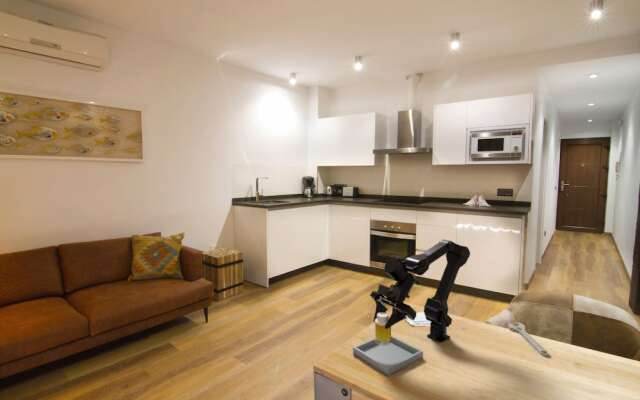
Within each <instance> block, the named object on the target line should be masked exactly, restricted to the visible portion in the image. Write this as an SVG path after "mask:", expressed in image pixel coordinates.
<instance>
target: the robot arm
mask: <svg viewBox="0 0 640 400" xmlns="http://www.w3.org/2000/svg"><path fill="white" fill-rule="evenodd" d="M443 256H445V258H446V259H445V260H446V265H445V268H444V270H443V273H442V275H441V278H440V281H439V283H438V286H437V288H436V291H435V293H434V296H433V297H428V298H427V299H426V302H425V304H424V306H423V307H424V309H423V314H424V316H425V317H424V318H425V319H426V321H429V322H430V323H429V324H430V325H429V326H430V327H429V333H428V334H426V336H427V337H428V338H429V339H433V340H435V341H437V342H439V343H442V342H444V341H447V340H449V339H450V338H451V336H450V335H449V334H447V329H448V328H449V327H450V325H452V321H453V319H452V317H451V316H450V315H449V314H448V312H449V306H448V299H449V297H450V294H451V291H452V290H453V286H454V284H455V281H456V278H457V276H458V273H459V271H460V268H462V267H463V266H464V265H466V264H467V262H468V260H469V258H470V256H471V251H470V249H469V247H468V246H465V245H460V244H457V243H455V242H454V241H452V240H447V239H440V240H439V241H438V243H436V244H435V245H433V246H431V247H430V248H428V249H427V250H425V251H424V252H422V253H420V254H414V255H411V256H409V257H407V258H406V259H405V260H402V259H401V258H400V257H397V256H395V257H394V258H393V259H390V260H388V261H387V262H386V263H385V265H384V271H385V272H386V274H387V275H389V277H390V278H392V279H393V281H395V283H394V284H390V286H388V285H384V284H380V283H379V285H378V288H377V290H372V291H371V293H370V294H369V297H370V298H371V299H373V301H374V302H375V312H374V317H373V320H372V321H373V323H375V319H376V318H377V314H378V313H380V312H384V313H387V311H388V307H386V306H390V307H392V308H391V309H392V310H391V314H390V316H389V319H388V321H387V323H386V325H385V328H386V329H388V328H390V327H391V328H392V327H393V326H394V325H396V324H398V323H400V322H401V321H403V320H407V319H411V320H412V321H414V320H415V319H416V317H417V311H416V310H415V309H414V308H413V307H412V306H411V305H410V304H408V303H405V300H406V299H409V298H410V295H409V294H410V291H411V290H412V288H413V287H414V285H417V286H418V285H420V281H419V278H418V276H423V275H424V274H425V273H426V272H427V271H429V269H430V265H431V264H432V263H434V262H435V261H438V260H439V259H440V258H442V257H443ZM415 275H417V276H415Z"/></svg>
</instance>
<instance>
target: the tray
mask: <svg viewBox="0 0 640 400" xmlns="http://www.w3.org/2000/svg"><path fill="white" fill-rule="evenodd" d="M352 354H353V355H355V356H356V357H357V358H359V359H361V360H362V361H363V362H365V363H367V364H369V365H370V366H372V367H373V368H375V369H376V370H379V372H381V373H383V374H385V375H386V376H388V377H389V376H391V375H394V374H395V373H397V372H399V371H400V370H402V369H404V368H408V367H409V366H410V365H412V364H414V363H416V362H418V361H420V360H422V359H423V358H424V351H423V350H421V349H419V348H418V347H415V346H414V345H411V344H409V343H407V342H405V341H403V340H402V339H399V338H397V337H395V336H393V335H391V343H390V344H389V345H386V346H382V345H379V344H377V343H376V341H375V337H374V338H372V339H369V340H367V341H365V342H362V343H360V344H358V345H355V346H353V347H352Z"/></svg>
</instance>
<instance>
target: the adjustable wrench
mask: <svg viewBox="0 0 640 400" xmlns="http://www.w3.org/2000/svg"><path fill="white" fill-rule="evenodd" d="M507 325H508V330H509V331H512V332H514V333H517V334H519V335H520V336H521V338H523V339H524V340H525V341H526V342H527V343H528V344H529V345H530V346H531V347H532V348H533V349H534V350H535V351H536V352H537V353H538V354H539V355H540V356H542V357H544V358H545V357H547V358H548V357H550V355H549V354H550V352H549V351H547V349H546V348H545V347H543V346H542V345H541V344H540V343H539V342H538V341H537V340H536V339H534V338H533V337H532V336H531V335H530V334H529V333H528V332H527V331H526V326H525V324H523V323H521V322H519V321H518V322H517V321H515V322H514V324H512V323H511V322H509V323H508V324H507Z"/></svg>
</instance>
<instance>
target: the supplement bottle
mask: <svg viewBox="0 0 640 400" xmlns="http://www.w3.org/2000/svg"><path fill="white" fill-rule="evenodd" d="M389 318H390V316H389V314H388V313H387V312H385V313H384V312H380V313H378V314H377V318H376V319H375V322H374V338H375V341H376V343H377V344H379V345H382V346H386V345H389V344H390V343H391V336H392V326H391V327H390V328H388V329H386V328H385V325H386V323H387V321H388V319H389Z"/></svg>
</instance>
